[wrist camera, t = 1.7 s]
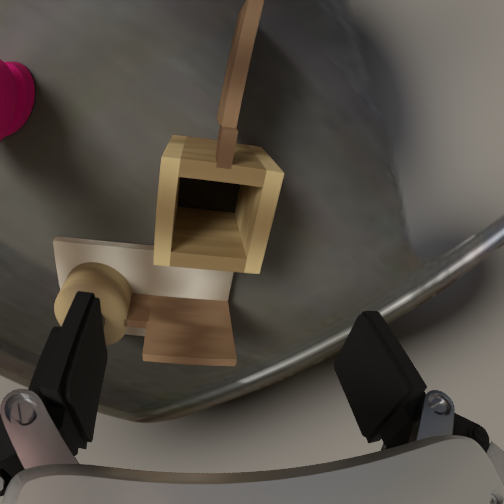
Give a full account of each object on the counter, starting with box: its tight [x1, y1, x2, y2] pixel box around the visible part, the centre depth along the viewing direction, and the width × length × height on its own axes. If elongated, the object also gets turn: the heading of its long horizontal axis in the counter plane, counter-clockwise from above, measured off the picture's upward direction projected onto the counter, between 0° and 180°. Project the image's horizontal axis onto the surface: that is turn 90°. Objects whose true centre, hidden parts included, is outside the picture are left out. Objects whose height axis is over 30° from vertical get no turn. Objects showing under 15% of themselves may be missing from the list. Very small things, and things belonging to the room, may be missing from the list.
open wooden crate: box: [153, 0, 284, 274], centre depth 18 cm, size 16×7×7 cm, turn 169°
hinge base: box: [53, 236, 237, 366], centre depth 23 cm, size 16×10×10 cm, turn 79°
